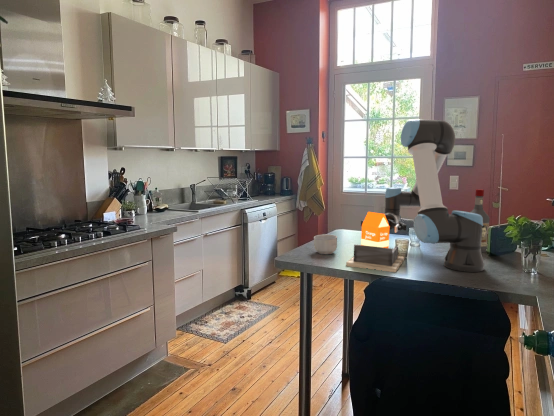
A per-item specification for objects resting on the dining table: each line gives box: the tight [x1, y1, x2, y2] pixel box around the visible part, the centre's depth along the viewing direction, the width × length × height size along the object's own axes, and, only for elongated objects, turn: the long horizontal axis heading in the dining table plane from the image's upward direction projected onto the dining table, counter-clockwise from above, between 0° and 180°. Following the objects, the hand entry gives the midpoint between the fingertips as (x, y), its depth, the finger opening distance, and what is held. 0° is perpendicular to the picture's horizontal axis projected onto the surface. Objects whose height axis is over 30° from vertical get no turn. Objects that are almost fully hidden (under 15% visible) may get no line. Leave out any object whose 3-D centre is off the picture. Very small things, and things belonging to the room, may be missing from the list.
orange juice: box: [360, 211, 390, 248], centre depth 173 cm, size 8×9×20 cm
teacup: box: [313, 233, 338, 255], centre depth 191 cm, size 14×11×8 cm
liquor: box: [470, 188, 491, 253], centre depth 199 cm, size 9×9×30 cm
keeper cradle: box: [345, 244, 405, 273], centre depth 173 cm, size 22×20×8 cm
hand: (379, 228), depth 177 cm, fingers open, 13 cm apart
